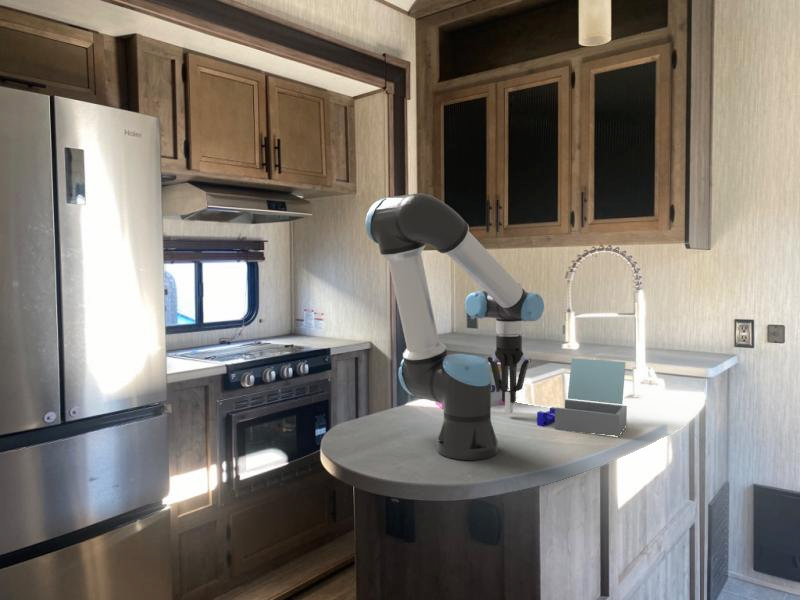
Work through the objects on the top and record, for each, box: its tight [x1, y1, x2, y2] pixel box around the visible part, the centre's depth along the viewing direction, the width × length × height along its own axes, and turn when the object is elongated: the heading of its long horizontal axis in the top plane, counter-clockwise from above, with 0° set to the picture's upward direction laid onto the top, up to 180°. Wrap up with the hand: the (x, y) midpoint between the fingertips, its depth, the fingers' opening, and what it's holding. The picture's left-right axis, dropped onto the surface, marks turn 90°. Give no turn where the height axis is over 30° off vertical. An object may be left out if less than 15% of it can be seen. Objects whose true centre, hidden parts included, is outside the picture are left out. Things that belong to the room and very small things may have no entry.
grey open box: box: [554, 398, 628, 436], centre depth 168 cm, size 12×17×6 cm
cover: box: [567, 357, 626, 405], centre depth 175 cm, size 12×15×1 cm
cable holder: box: [536, 406, 556, 427], centre depth 175 cm, size 8×4×4 cm, turn 134°
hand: (508, 412), depth 180 cm, fingers closed
